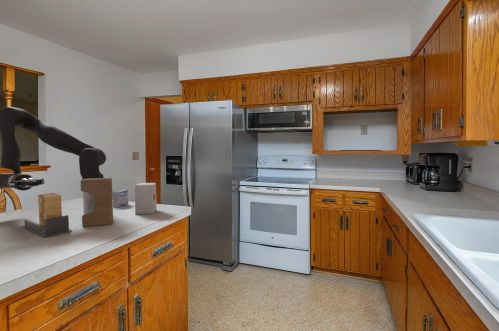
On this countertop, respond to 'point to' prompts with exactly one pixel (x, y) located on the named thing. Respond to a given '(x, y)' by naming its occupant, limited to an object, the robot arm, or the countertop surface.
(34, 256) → the countertop surface
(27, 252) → the countertop surface
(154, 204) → the supplement box
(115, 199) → the medicine box
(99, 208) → the decorative block
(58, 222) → the metal track
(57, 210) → the slider block
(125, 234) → the countertop surface
